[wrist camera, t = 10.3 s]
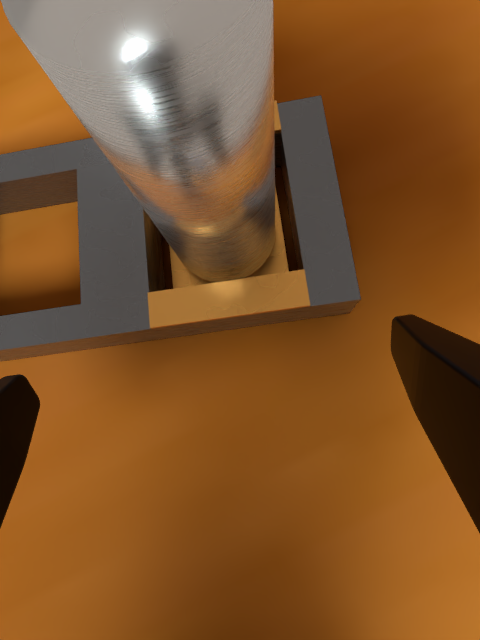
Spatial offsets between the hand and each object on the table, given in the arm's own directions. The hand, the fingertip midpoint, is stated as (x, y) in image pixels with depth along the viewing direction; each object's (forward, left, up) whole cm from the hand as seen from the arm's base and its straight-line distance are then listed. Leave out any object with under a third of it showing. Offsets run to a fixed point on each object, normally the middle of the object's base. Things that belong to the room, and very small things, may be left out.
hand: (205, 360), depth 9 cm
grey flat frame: (+7, -4, -8) cm, 12 cm away
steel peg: (+3, -6, -8) cm, 11 cm away
